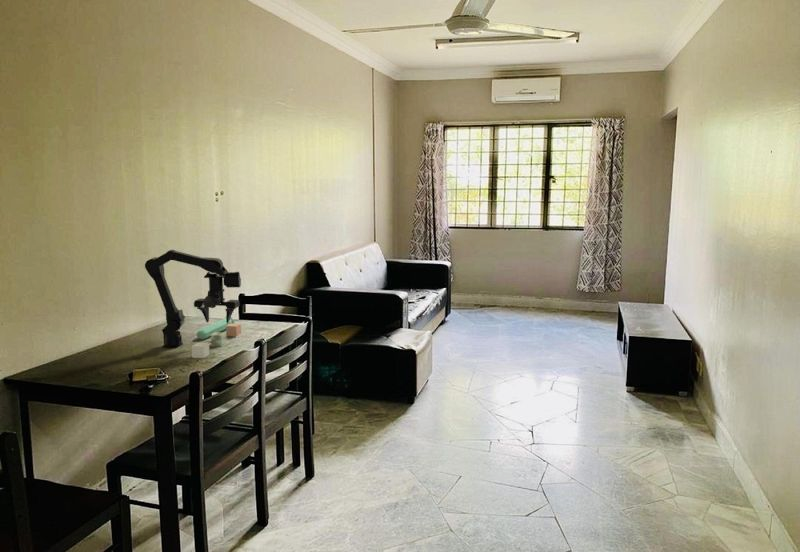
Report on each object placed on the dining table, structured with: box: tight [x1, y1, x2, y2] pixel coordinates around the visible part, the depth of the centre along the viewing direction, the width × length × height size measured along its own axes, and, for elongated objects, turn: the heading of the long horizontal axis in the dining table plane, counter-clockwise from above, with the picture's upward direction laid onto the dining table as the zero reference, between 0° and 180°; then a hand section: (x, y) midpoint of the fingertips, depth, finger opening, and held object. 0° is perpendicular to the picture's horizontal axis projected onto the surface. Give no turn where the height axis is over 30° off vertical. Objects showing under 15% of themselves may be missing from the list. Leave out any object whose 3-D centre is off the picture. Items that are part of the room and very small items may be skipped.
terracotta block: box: [225, 323, 242, 337], centre depth 276 cm, size 5×5×5 cm
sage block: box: [210, 331, 228, 347], centre depth 260 cm, size 5×5×5 cm
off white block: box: [191, 342, 210, 359], centre depth 244 cm, size 5×5×5 cm
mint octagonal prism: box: [196, 316, 235, 340], centre depth 279 cm, size 6×6×25 cm
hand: (217, 322), depth 259 cm, fingers open, 9 cm apart
